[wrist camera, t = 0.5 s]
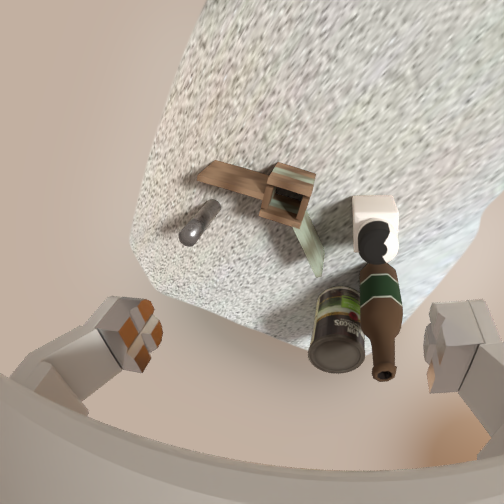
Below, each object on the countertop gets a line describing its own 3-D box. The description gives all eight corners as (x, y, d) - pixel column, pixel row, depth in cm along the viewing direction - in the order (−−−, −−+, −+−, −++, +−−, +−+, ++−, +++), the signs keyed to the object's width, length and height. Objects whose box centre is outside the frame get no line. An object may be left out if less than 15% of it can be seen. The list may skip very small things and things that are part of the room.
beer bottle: (352, 284, 62) (348, 385, 42) (366, 253, 57) (372, 353, 38) (386, 295, 61) (394, 395, 41) (403, 265, 56) (421, 365, 37)
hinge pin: (204, 199, 60) (176, 229, 50) (219, 199, 59) (193, 229, 49) (207, 213, 61) (180, 246, 52) (221, 213, 60) (197, 246, 51)
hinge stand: (350, 185, 51) (351, 204, 45) (323, 253, 60) (320, 279, 53) (218, 145, 53) (200, 158, 47) (205, 215, 62) (189, 236, 55)
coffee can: (333, 277, 62) (328, 328, 50) (374, 300, 62) (376, 352, 51) (306, 309, 68) (297, 360, 56) (345, 329, 68) (342, 380, 57)
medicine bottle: (352, 232, 56) (354, 270, 46) (351, 194, 52) (354, 227, 42) (391, 231, 54) (400, 270, 44) (392, 194, 50) (404, 227, 40)
